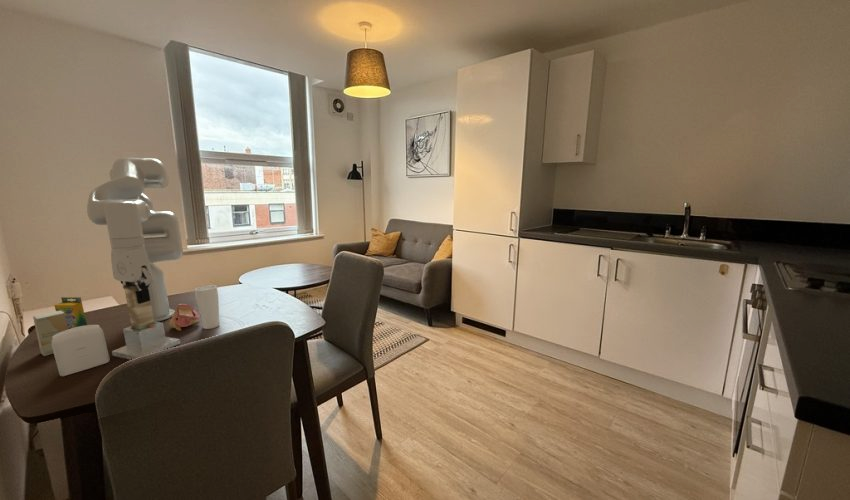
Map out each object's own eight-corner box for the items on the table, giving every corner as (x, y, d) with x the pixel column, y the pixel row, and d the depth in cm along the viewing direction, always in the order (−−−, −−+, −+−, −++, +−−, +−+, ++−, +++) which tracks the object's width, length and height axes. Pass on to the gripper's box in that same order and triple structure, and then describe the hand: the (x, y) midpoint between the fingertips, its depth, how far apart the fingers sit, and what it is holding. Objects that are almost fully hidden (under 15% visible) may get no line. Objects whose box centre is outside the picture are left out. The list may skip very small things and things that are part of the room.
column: (131, 328, 102) (123, 285, 100) (146, 323, 106) (138, 281, 104) (140, 330, 101) (132, 286, 99) (155, 325, 105) (147, 282, 102)
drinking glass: (211, 331, 118) (205, 291, 115) (195, 329, 119) (189, 290, 116) (226, 323, 124) (221, 285, 121) (211, 322, 126) (205, 284, 123)
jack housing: (112, 355, 101) (107, 329, 100) (154, 338, 113) (150, 315, 111) (140, 361, 98) (134, 335, 96) (180, 343, 109) (176, 319, 107)
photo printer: (59, 378, 90) (49, 336, 87) (58, 373, 92) (48, 331, 90) (111, 363, 97) (102, 323, 95) (108, 358, 100) (100, 319, 98)
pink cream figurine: (163, 335, 117) (161, 311, 121) (191, 337, 125) (188, 314, 130) (182, 322, 115) (179, 298, 119) (209, 325, 124) (206, 303, 128)
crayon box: (59, 330, 120) (52, 300, 117) (68, 327, 122) (61, 297, 120) (79, 330, 119) (72, 299, 117) (88, 327, 122) (81, 297, 120)
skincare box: (43, 356, 101) (34, 319, 99) (40, 353, 103) (30, 316, 101) (73, 348, 107) (65, 312, 104) (69, 344, 109) (61, 309, 106)
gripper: (93, 243, 98) (106, 302, 101) (133, 246, 93) (144, 308, 96) (123, 239, 105) (133, 295, 108) (161, 242, 100) (170, 300, 103)
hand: (138, 300), depth 102 cm, fingers closed on column, 4 cm apart
